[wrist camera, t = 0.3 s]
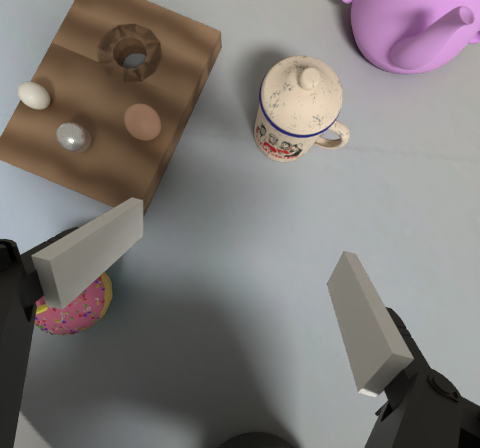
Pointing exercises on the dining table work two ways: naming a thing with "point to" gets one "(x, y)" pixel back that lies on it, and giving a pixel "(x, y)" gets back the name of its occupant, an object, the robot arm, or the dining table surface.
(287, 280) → the dining table surface
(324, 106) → the teacup with lid
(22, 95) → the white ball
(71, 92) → the wooden board
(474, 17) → the teapot
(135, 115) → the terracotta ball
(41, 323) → the cupcake
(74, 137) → the steel ball
